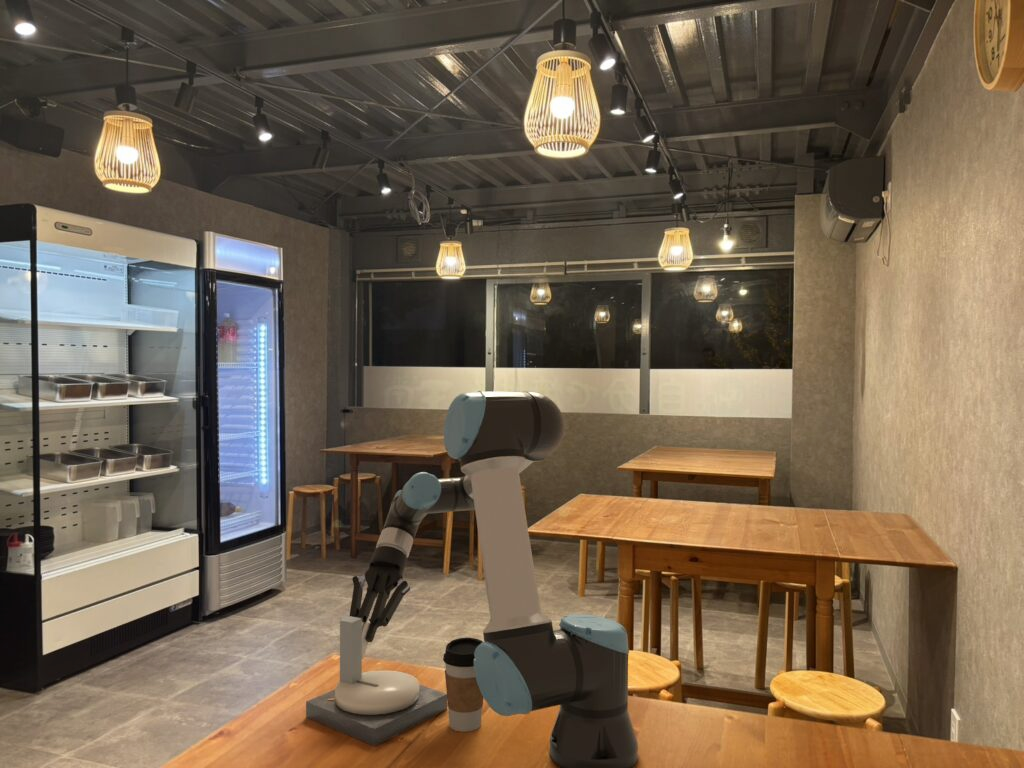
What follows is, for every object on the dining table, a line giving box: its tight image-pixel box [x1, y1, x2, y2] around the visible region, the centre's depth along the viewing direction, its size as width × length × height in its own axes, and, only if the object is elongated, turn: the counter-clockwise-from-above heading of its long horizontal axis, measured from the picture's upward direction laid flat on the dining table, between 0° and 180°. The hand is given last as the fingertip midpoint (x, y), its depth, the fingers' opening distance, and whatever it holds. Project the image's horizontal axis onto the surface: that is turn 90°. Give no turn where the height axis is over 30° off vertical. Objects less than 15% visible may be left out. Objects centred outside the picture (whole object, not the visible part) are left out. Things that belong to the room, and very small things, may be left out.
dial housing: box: [305, 684, 448, 747], centre depth 147 cm, size 19×19×3 cm
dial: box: [334, 615, 420, 715], centre depth 147 cm, size 16×16×14 cm
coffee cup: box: [442, 637, 484, 733], centre depth 142 cm, size 8×8×15 cm
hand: (356, 655), depth 153 cm, fingers closed
